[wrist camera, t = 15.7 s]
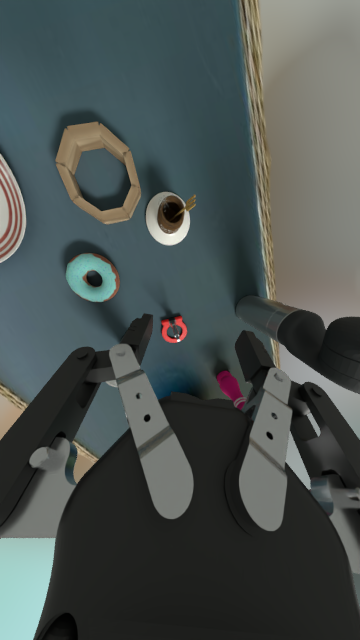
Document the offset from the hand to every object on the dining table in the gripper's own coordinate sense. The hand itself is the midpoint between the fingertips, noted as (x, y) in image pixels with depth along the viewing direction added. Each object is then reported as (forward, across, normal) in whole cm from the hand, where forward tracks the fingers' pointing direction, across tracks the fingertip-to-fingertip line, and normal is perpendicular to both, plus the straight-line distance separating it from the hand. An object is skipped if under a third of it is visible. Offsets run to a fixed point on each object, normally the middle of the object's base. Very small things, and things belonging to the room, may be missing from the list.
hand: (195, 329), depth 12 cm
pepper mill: (+24, -22, +43) cm, 54 cm away
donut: (+25, +24, +9) cm, 36 cm away
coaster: (+33, +8, -6) cm, 35 cm away
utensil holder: (+33, +8, -6) cm, 34 cm away
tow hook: (+25, +2, +23) cm, 34 cm away
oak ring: (+31, +22, -11) cm, 40 cm away
